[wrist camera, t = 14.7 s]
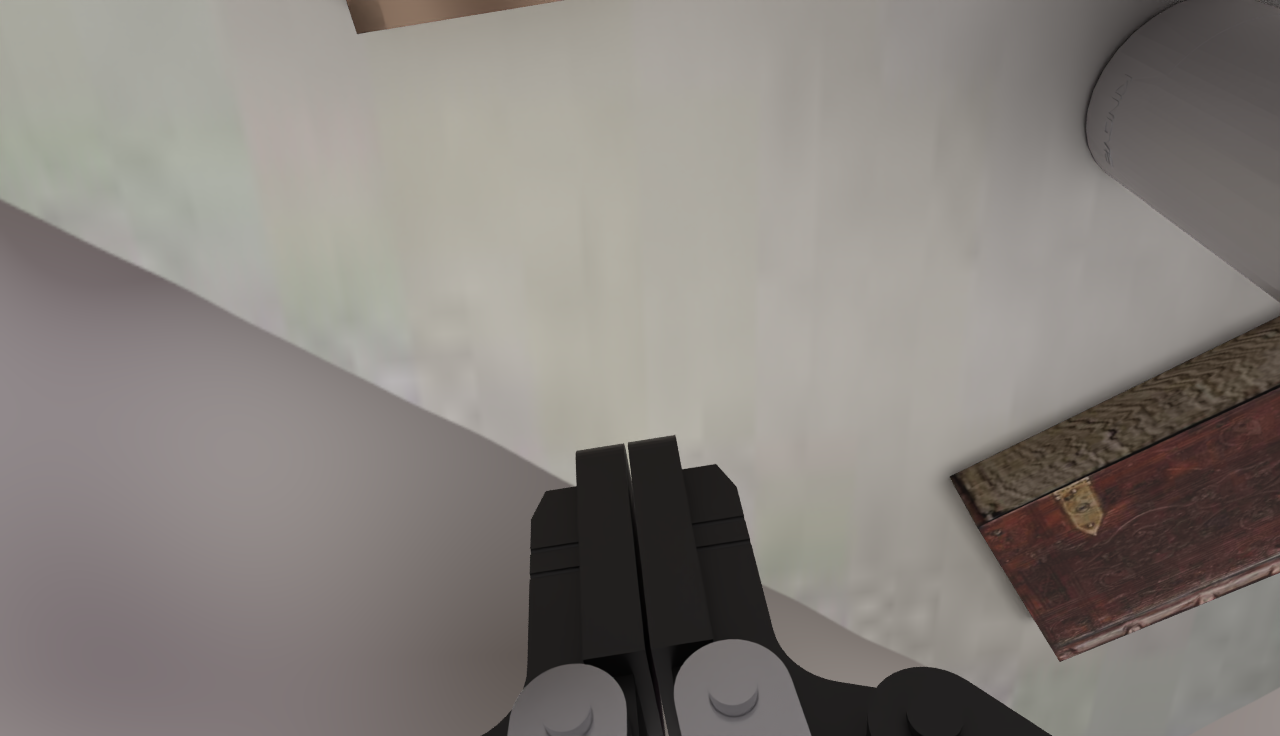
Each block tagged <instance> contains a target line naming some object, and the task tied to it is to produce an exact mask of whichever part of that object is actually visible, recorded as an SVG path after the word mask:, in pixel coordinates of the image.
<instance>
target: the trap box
mask: <svg viewBox="0 0 1280 736" xmlns="http://www.w3.org/2000/svg"><path fill="white" fill-rule="evenodd" d="M346 1H347V4H348V7H349V10H350V14H351V17H352V20H353V23H354V26H355V29H356V32H357V34H360V33H366V32H372V31H378V30H384V29H391V28H397V27H403V26H409V25H415V24H421V23H427V22H434V21H440V20H446V19H452V18H458V17H464V16H470V15H477V14H483V13H489V12H495V11H501V10H507V9H513V8H519V7H526V6H532V5H538V4H544V3H550V2H556V1H562V0H346Z"/></svg>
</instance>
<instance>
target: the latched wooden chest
mask: <svg viewBox="0 0 1280 736" xmlns="http://www.w3.org/2000/svg"><path fill="white" fill-rule="evenodd" d="M950 478H951V480H952V482H953V484H954V486H955V488H956V489H957V491H958V493H959V495H960V497H961V498H962V500H963V502H964V504H965V506H966V507H967V509H968V511H969V513H970V515H971V517H972V518H973V520H974V522H975V524H976V526H977V527H978V529H979V531H980V532H981V534H982V536H983V537H984V539H985V540H986V542H987V544H988V545H989V547H990V549H991V550H992V552H993V554H994V555H995V557H996V558H997V560H998V562H999V563H1000V565H1001V567H1002V568H1003V570H1004V572H1005V573H1006V575H1007V576H1008V578H1009V580H1010V581H1011V583H1012V585H1013V586H1014V588H1015V589H1016V591H1017V593H1018V594H1019V596H1020V598H1021V599H1022V601H1023V603H1024V604H1025V606H1026V607H1027V609H1028V611H1029V612H1030V614H1031V616H1032V617H1033V619H1034V621H1035V622H1036V624H1037V625H1038V627H1039V629H1040V630H1041V632H1042V634H1043V635H1044V637H1045V638H1046V640H1047V642H1048V643H1049V645H1050V647H1051V648H1052V650H1053V652H1054V653H1055V655H1056V656H1057V658H1058V660H1059V661H1060V662H1061V661H1063V660H1066V659H1068V658H1071V657H1073V656H1076V655H1078V654H1081V653H1083V652H1086V651H1088V650H1091V649H1093V648H1095V647H1098V646H1100V645H1103V644H1105V643H1108V642H1110V641H1113V640H1115V639H1118V638H1120V637H1123V636H1125V635H1127V634H1130V633H1132V632H1135V631H1137V630H1140V629H1142V628H1145V627H1147V626H1150V625H1152V624H1155V623H1157V622H1160V621H1162V620H1164V619H1167V618H1169V617H1172V616H1174V615H1177V614H1179V613H1182V612H1184V611H1187V610H1189V609H1192V608H1194V607H1197V606H1199V605H1201V604H1204V603H1206V602H1209V601H1211V600H1214V599H1216V598H1219V597H1221V596H1224V595H1226V594H1229V593H1231V592H1233V591H1236V590H1238V589H1241V588H1243V587H1246V586H1248V585H1251V584H1253V583H1256V582H1258V581H1261V580H1263V579H1266V578H1268V577H1270V576H1273V575H1275V574H1278V573H1280V316H1279V317H1277V318H1275V319H1273V320H1271V321H1269V322H1267V323H1265V324H1263V325H1261V326H1259V327H1257V328H1255V329H1252V330H1250V331H1248V332H1246V333H1244V334H1242V335H1240V336H1238V337H1236V338H1234V339H1232V340H1230V341H1228V342H1226V343H1224V344H1222V345H1220V346H1218V347H1215V348H1213V349H1211V350H1209V351H1207V352H1205V353H1203V354H1201V355H1199V356H1197V357H1195V358H1193V359H1191V360H1189V361H1187V362H1185V363H1183V364H1181V365H1178V366H1176V367H1174V368H1172V369H1170V370H1168V371H1166V372H1164V373H1162V374H1160V375H1158V376H1156V377H1154V378H1152V379H1150V380H1148V381H1146V382H1144V383H1141V384H1139V385H1137V386H1135V387H1133V388H1131V389H1129V390H1127V391H1125V392H1123V393H1121V394H1119V395H1117V396H1115V397H1113V398H1111V399H1109V400H1106V401H1104V402H1102V403H1100V404H1098V405H1096V406H1094V407H1092V408H1090V409H1088V410H1086V411H1084V412H1082V413H1080V414H1078V415H1076V416H1074V417H1072V418H1069V419H1067V420H1065V421H1063V422H1061V423H1059V424H1057V425H1055V426H1053V427H1051V428H1049V429H1047V430H1045V431H1043V432H1041V433H1039V434H1037V435H1035V436H1032V437H1030V438H1028V439H1026V440H1024V441H1022V442H1020V443H1018V444H1016V445H1014V446H1012V447H1010V448H1008V449H1006V450H1004V451H1002V452H1000V453H998V454H995V455H993V456H991V457H989V458H987V459H985V460H983V461H981V462H979V463H977V464H975V465H973V466H971V467H969V468H967V469H965V470H963V471H960V472H958V473H956V474H954V475H952V476H950Z"/></svg>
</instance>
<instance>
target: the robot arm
mask: <svg viewBox="0 0 1280 736" xmlns="http://www.w3.org/2000/svg"><path fill="white" fill-rule="evenodd" d="M1086 133H1087V139H1088V146H1089V149H1090V151H1091V153H1092V155H1093V157H1094V159H1095V161H1096V162H1097V164H1098V165H1099V166H1100V167H1101V168H1102V169H1103V170H1104V171H1105V172H1106V173H1107V174H1108V175H1110V176H1111V177H1112V178H1114V179H1115V180H1116V181H1118V182H1119V183H1120V184H1122V185H1123V186H1125V187H1126V188H1127V189H1129V190H1130V191H1131V192H1133V193H1134V194H1135V195H1137V196H1138V197H1139V198H1141V199H1142V200H1143V201H1145V202H1146V203H1147V204H1148V205H1149V206H1151V207H1152V208H1153V209H1155V210H1156V211H1157V212H1159V213H1160V214H1162V215H1163V216H1164V217H1166V218H1167V219H1168V220H1170V221H1171V222H1172V223H1174V224H1175V225H1176V226H1178V227H1179V228H1180V229H1182V230H1183V231H1184V232H1186V233H1187V234H1188V235H1190V236H1191V237H1192V238H1194V239H1195V240H1196V241H1198V242H1199V243H1201V244H1202V245H1203V246H1205V247H1206V248H1207V249H1209V250H1210V251H1211V252H1213V253H1214V254H1215V255H1217V256H1218V257H1219V258H1221V259H1222V260H1223V261H1225V262H1226V263H1227V264H1229V265H1230V266H1231V267H1233V268H1234V269H1235V270H1237V271H1238V272H1240V273H1241V274H1242V275H1244V276H1245V277H1246V278H1248V279H1249V280H1250V281H1252V282H1253V283H1254V284H1256V285H1257V286H1258V287H1260V288H1261V289H1262V290H1264V291H1265V292H1266V293H1268V294H1269V295H1270V296H1272V297H1273V298H1274V299H1276V300H1277V301H1279V302H1280V8H1277V7H1274V6H1271V5H1268V4H1265V3H1262V2H1259V1H1256V0H1187V1H1184V2H1181V3H1178V4H1176V5H1174V6H1172V7H1170V8H1169V9H1167V10H1165V11H1163V12H1162V13H1160V14H1158V15H1156V16H1154V17H1153V18H1152V19H1151V20H1149V21H1148V22H1147V23H1146V24H1144V25H1143V26H1142V27H1140V28H1139V29H1138V30H1137V31H1135V32H1134V33H1133V34H1132V35H1131V36H1130V38H1129V39H1128V40H1127V41H1126V42H1125V43H1124V44H1123V45H1122V46H1121V47H1120V48H1119V49H1118V50H1117V52H1116V53H1115V54H1114V56H1113V57H1112V59H1111V60H1110V61H1109V63H1108V64H1107V66H1106V67H1105V69H1104V70H1103V72H1102V74H1101V76H1100V78H1099V80H1098V82H1097V84H1096V86H1095V88H1094V90H1093V94H1092V97H1091V100H1090V104H1089V107H1088V111H1087V123H1086ZM628 450H629V459H630V468H631V475H630V470H629V465H628V459H627V454H626V449H625V445H624V443H623V444H617V445H611V446H604V447H598V448H592V449H586V450H579V451H576V481H577V486H576V487H570V488H563V489H557V490H550V491H546V492H545V494H544V496H543V498H542V500H541V502H540V504H539V505H538V507H537V509H536V511H535V513H534V515H533V517H532V519H531V547H530V549H531V555H530V578H531V580H530V585H529V626H528V627H529V628H528V665H527V677H526V682H525V685H524V688H523V691H522V692H521V693H520V695H519V696H518V698H517V700H516V702H515V703H514V706H513V709H512V710H511V711H510V712H509V714H508V715H507V716H506V717H505V718H504V719H503V720H502V721H501V722H500V723H499V724H498V725H497V726H495V727H494V728H492V729H491V730H490V731H489V732H487V733H485V734H483V735H482V736H665V727H664V719H663V711H662V705H663V710H664V714H665V719H666V724H667V729H668V734H669V736H1052V735H1050V734H1049V733H1047V732H1046V731H1044V730H1042V729H1041V728H1039V727H1038V726H1036V725H1035V724H1033V723H1032V722H1030V721H1029V720H1027V719H1026V718H1024V717H1023V716H1021V715H1019V714H1018V713H1016V712H1015V711H1013V710H1012V709H1010V708H1009V707H1007V706H1006V705H1004V704H1003V703H1001V702H999V701H998V700H996V699H995V698H993V697H992V696H990V695H989V694H987V693H986V692H984V691H983V690H981V689H979V688H978V687H976V686H975V685H973V684H972V683H970V682H969V681H967V680H965V679H964V678H962V677H960V676H958V675H956V674H954V673H951V672H948V671H946V670H942V669H938V668H931V667H913V668H908V669H903V670H901V671H898V672H896V673H893V674H892V675H890V676H888V677H887V678H885V679H884V680H883V681H882V682H881V683H880V684H879V685H878V686H877V688H874V687H868V686H862V685H855V684H849V683H842V682H836V681H832V680H827V679H824V678H821V677H818V676H816V675H813V674H812V673H809V672H807V671H806V670H804V669H803V668H801V667H800V666H799V665H797V664H796V663H795V662H793V661H792V660H791V659H790V658H789V657H788V656H787V655H786V653H785V652H784V651H783V650H782V648H781V647H780V645H779V643H778V641H777V639H776V637H775V634H774V631H773V628H772V624H771V620H770V616H769V612H768V608H767V604H766V600H765V596H764V592H763V588H762V584H761V580H760V577H759V573H758V569H757V565H756V561H755V557H754V553H753V549H752V545H751V543H750V537H749V534H748V530H747V526H746V522H745V520H744V514H743V510H742V506H741V502H740V498H739V494H738V491H737V487H736V486H735V485H734V483H733V482H732V481H731V480H730V479H729V478H728V477H727V476H726V475H725V473H724V472H723V471H722V470H721V469H720V468H719V467H718V466H717V465H716V464H714V465H707V466H701V467H695V468H688V469H682V468H681V463H680V457H679V452H678V446H677V441H676V436H675V435H673V436H666V437H660V438H654V439H647V440H641V441H635V442H628ZM631 477H632V480H631ZM661 700H662V702H661Z"/></svg>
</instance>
